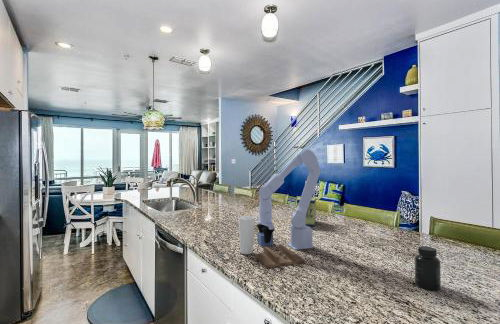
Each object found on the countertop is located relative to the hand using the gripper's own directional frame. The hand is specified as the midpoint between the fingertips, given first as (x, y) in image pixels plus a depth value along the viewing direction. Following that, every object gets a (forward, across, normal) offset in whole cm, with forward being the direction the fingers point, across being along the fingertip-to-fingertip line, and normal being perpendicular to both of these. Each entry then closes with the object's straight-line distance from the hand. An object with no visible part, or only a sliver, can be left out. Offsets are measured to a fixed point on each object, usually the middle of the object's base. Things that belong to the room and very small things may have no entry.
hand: (265, 241), depth 125 cm
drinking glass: (+2, +8, -12) cm, 14 cm away
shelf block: (+2, 0, 0) cm, 2 cm away
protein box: (+2, -28, +39) cm, 48 cm away
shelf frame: (+1, +19, -2) cm, 19 cm away
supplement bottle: (+2, +54, +33) cm, 63 cm away
